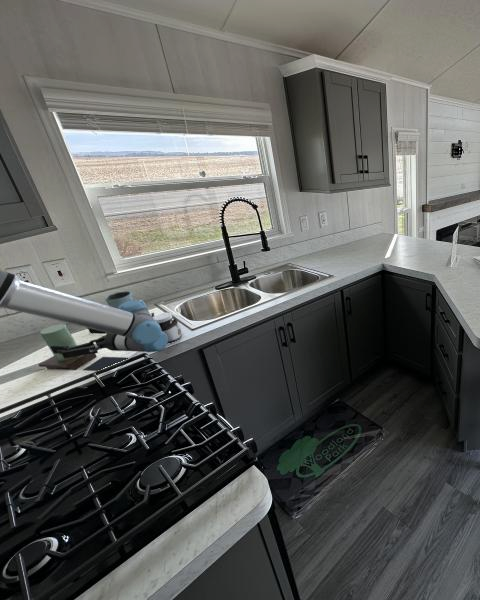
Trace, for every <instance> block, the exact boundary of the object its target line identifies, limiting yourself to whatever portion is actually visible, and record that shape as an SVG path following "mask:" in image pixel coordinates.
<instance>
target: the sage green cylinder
mask: <svg viewBox="0 0 480 600" xmlns="http://www.w3.org/2000/svg"><path fill="white" fill-rule="evenodd" d="M40 335H41V337H42V338H43V340H44V341H45V342H44V343H46V345H47V347H48V348H49V350H50V352H51V353H52V355H53V356H54V357H55V358H56V360H57V361H63V360H67V359H70V358H66V359H64V357H63V356H62V354H58V353H53V351H52V349H51V348H50V347H51V346H69V347H73V346H77V345H78V344H77V342H76V340H75V339H74V336H73V335H72V333H71V332H70V330H69V328H68V326H67V324H65V323H60V324H54V325H51V326H48V327H45V328H44V329H42V330H40ZM71 358H73V357H71Z"/></svg>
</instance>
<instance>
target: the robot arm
mask: <svg viewBox="0 0 480 600" xmlns="http://www.w3.org/2000/svg"><path fill="white" fill-rule="evenodd" d="M0 309H8V310H11V311H15V312H19V313H24V314H28V315H32V316H37V317H40V318H45V319H49V320H53V321H58V322H62V323H67V324H71V325H74V326H79V327H83V328H87V330H88V332H89V333H90V334H94V335H96V334H99V335H101V334H102V336H100V337H98V338H96V339H92V340H89V342H85V343H81V344H77V346H73V347H69V346H51V347H50V348H51V349H52V351H53V353H58V354H62V356H63V357H64V359H66V358H71V357H76V356H81V355H87V354H95V355H96V354H98V353H99V352H98V350H100V349H101V350H102V349H107V350H109V351H112V352H139V353H141V352H142V353H158V352H161V351H163V350H164V349H166V347H167V346H168V344H167V343H168V337H167V335H166V334H165V333H164V332H162V330H161V328H160V325H159V324H158V323H157V322H156V321H155V320H154V318H153V317H152V315H151V313H150V312H149V310H148V306H147V305H146V303H145V301H144V300H142V299H133V300H131V301H128V302H125V303H123V304H121V305H120V306H119V307H118V309H117V308H113V307H110V306H109V305H106V304H103V303H99V302H95V301H92V300H89V299H86V298H82V297H78V296H75V295H73V294H68V293H65V292H62V291H58V290H55V289H52V288H48V287H45V286H41V285H37V284H34V283H30V282H27V281H23V280H21V279H20V278H19V276H18V275H17V274H14V273H11V272H9V271H4V270H2V269H0ZM50 348H49V349H50ZM53 353H52V354H53Z"/></svg>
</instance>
